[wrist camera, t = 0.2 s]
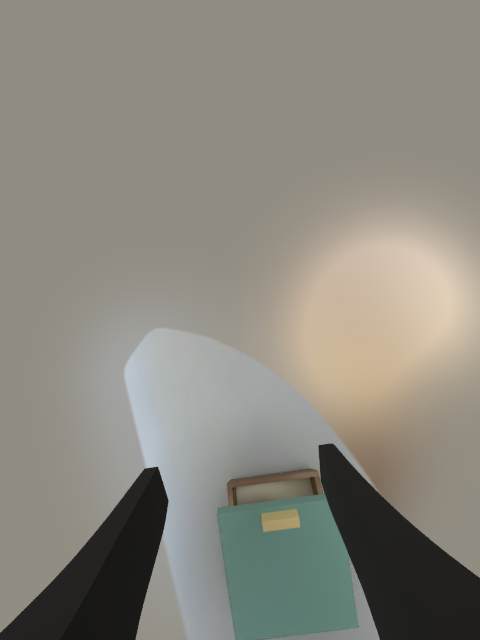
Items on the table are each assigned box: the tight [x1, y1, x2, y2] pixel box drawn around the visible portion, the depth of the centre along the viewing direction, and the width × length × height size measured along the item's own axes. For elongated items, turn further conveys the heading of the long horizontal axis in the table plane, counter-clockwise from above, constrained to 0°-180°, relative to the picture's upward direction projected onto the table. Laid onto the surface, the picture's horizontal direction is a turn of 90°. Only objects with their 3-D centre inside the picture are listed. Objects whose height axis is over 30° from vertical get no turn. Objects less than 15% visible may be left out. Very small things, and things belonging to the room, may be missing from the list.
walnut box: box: [227, 469, 323, 506], centre depth 31 cm, size 13×12×5 cm
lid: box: [217, 494, 359, 640], centre depth 24 cm, size 14×12×2 cm
